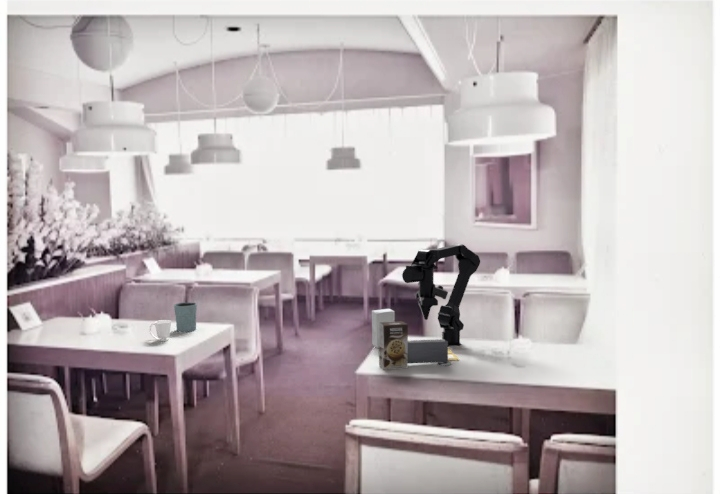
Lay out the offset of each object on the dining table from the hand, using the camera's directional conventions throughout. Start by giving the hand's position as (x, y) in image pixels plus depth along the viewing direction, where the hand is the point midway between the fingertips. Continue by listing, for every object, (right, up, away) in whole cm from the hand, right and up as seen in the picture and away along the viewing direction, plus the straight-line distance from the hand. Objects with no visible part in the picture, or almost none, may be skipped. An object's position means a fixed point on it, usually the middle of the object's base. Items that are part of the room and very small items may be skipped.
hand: (426, 319), depth 252 cm
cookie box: (-14, -15, -24) cm, 31 cm away
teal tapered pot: (-107, -9, +39) cm, 114 cm away
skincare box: (-17, -12, +7) cm, 22 cm away
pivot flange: (+4, -14, -21) cm, 26 cm away
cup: (-112, -11, +20) cm, 115 cm away
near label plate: (+6, -12, -3) cm, 14 cm away
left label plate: (+7, -13, -12) cm, 20 cm away
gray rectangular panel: (-2, -13, -22) cm, 25 cm away
